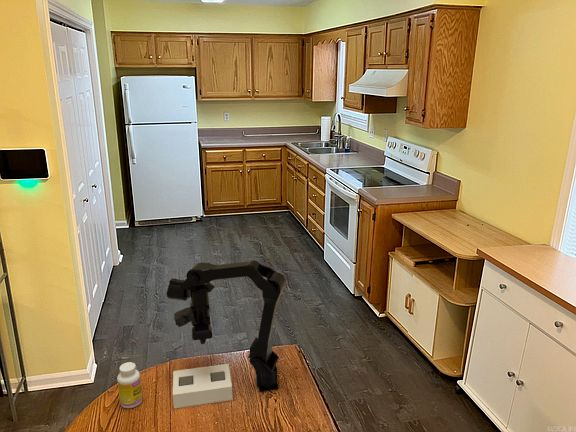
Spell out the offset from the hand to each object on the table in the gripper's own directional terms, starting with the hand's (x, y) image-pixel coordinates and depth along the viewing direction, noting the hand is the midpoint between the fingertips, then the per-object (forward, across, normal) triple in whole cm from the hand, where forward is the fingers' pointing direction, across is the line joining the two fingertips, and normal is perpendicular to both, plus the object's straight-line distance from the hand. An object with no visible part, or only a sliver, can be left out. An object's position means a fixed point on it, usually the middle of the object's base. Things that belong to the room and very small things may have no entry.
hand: (202, 343), depth 151 cm
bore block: (+12, +9, -1) cm, 15 cm away
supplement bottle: (+12, +9, -23) cm, 27 cm away
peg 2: (+12, +9, +4) cm, 15 cm away
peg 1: (+12, +9, -6) cm, 16 cm away
